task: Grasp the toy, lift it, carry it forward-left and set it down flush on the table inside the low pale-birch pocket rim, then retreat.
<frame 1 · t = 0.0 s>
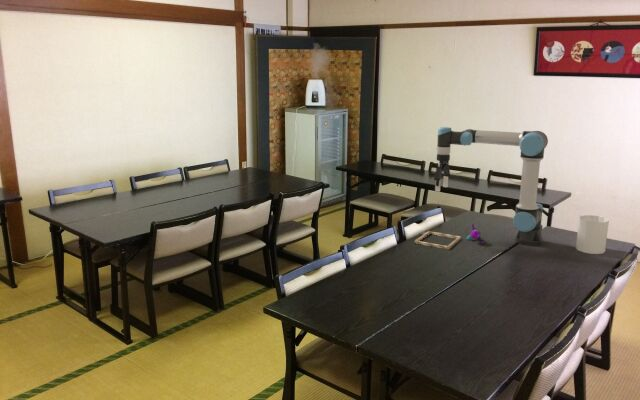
hand: (441, 189, 319), 28 cm above the table, fingers open, 13 cm apart
container: (589, 250, 297), on the table
toy: (474, 241, 313), on the table
pocket frame: (437, 241, 312), on the table
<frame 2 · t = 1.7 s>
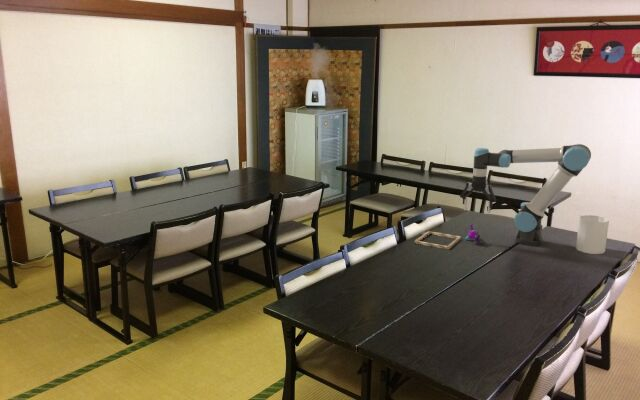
hand: (476, 211, 309), 17 cm above the table, fingers open, 13 cm apart
toy: (473, 241, 313), on the table
everything else where it was.
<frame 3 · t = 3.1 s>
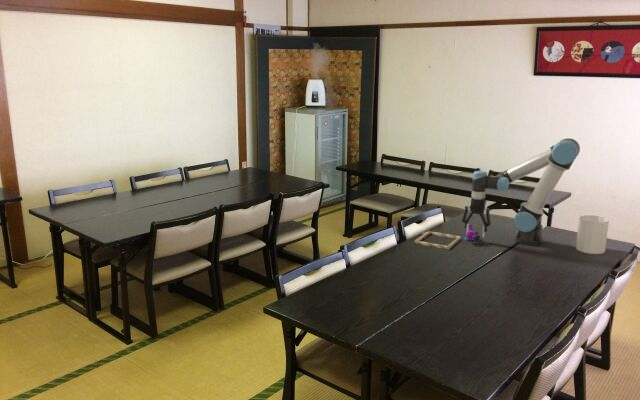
hand: (475, 235, 313), 3 cm above the table, fingers open, 9 cm apart
toy: (472, 241, 312), on the table, touching gripper
everything else where it was.
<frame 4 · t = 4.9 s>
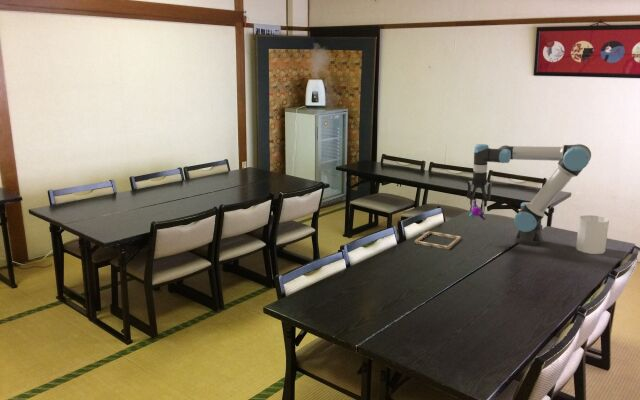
hand: (478, 211, 309), 18 cm above the table, fingers closed on toy, 5 cm apart
toy: (477, 218, 307), point 14 cm above the table, touching gripper
everything else where it was.
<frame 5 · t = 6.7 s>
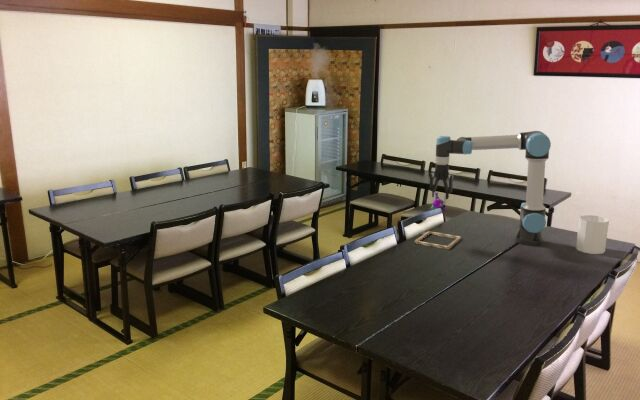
hand: (439, 203, 307), 23 cm above the table, fingers closed on toy, 5 cm apart
toy: (438, 210, 305), point 19 cm above the table, touching gripper
everything else where it was.
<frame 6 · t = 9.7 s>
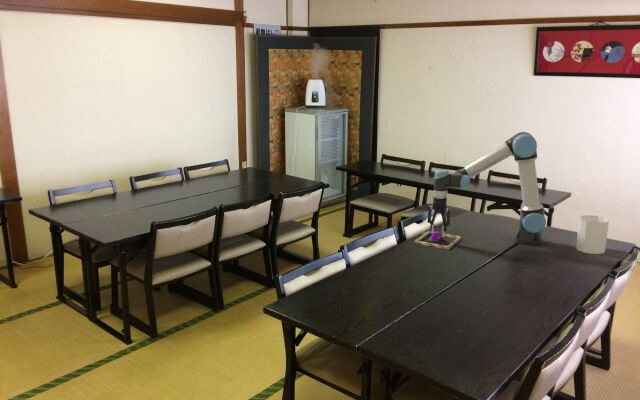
hand: (438, 235, 311), 3 cm above the table, fingers closed on toy, 5 cm apart
toy: (437, 242, 310), on the table, touching gripper
everything else where it was.
when the fingers open (3 cm above the table, at t = 9.7 s): toy moves 2 cm, on the table.
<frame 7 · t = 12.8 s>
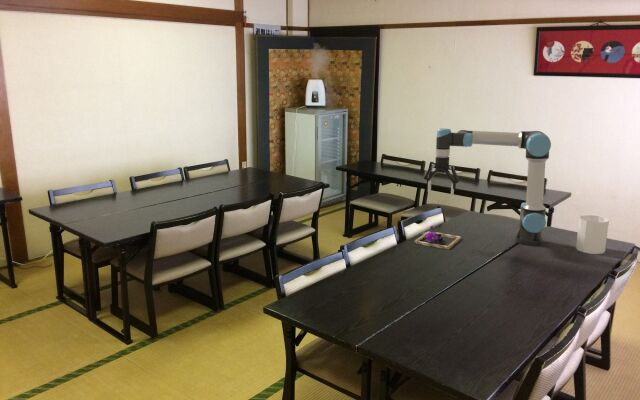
hand: (440, 193, 305), 29 cm above the table, fingers open, 13 cm apart
toy: (434, 243, 309), on the table
everything else where it was.
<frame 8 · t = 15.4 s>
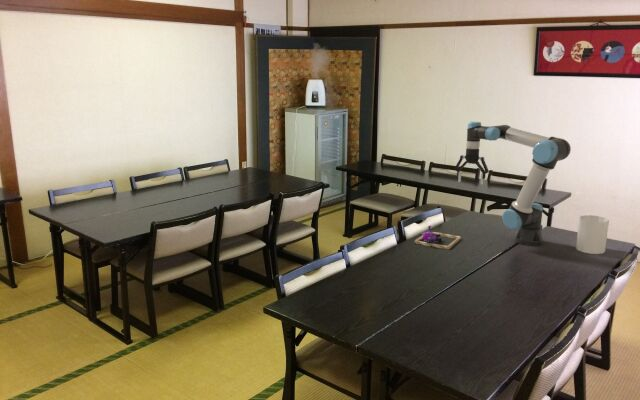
hand: (470, 183, 322), 31 cm above the table, fingers open, 13 cm apart
toy: (431, 243, 309), on the table
everything else where it was.
at the end: toy inside the target area on the pocket frame (5.4 cm from its centre), point 0.0 cm above the pocket frame's base; toy tilted 0°; toy touching table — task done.
